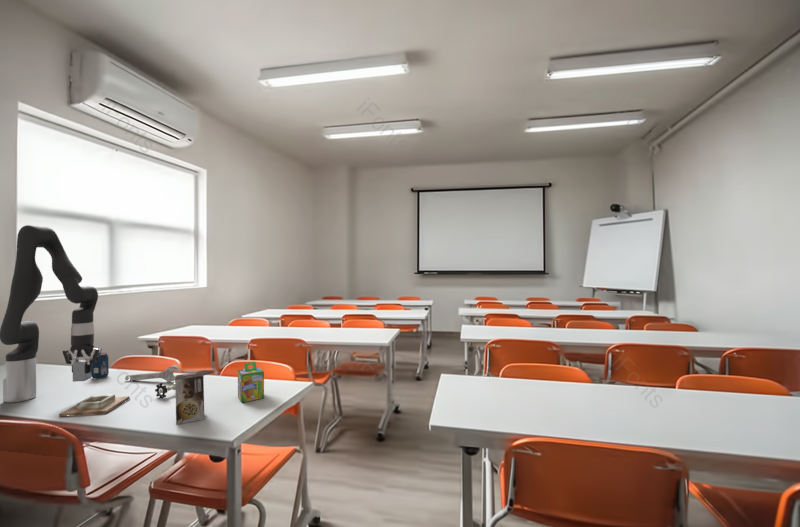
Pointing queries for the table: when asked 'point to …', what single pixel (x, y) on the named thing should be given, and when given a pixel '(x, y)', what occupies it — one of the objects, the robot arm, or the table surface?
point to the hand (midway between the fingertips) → (82, 373)
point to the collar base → (95, 405)
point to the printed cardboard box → (189, 397)
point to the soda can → (100, 367)
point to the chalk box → (250, 383)
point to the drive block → (80, 371)
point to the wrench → (156, 375)
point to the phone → (206, 372)
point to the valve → (163, 389)
